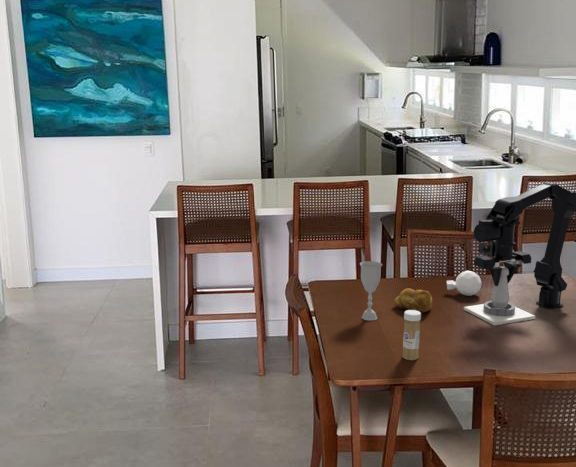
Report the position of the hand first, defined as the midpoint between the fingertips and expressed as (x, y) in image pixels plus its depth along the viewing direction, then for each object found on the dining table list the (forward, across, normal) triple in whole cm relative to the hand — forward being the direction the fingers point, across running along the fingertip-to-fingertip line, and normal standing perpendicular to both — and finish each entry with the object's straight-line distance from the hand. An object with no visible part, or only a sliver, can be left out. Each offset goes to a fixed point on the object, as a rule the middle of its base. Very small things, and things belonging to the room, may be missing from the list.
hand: (501, 285), depth 234 cm
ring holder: (+10, 0, 0) cm, 10 cm away
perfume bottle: (+10, -2, -22) cm, 24 cm away
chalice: (+10, +41, -13) cm, 44 cm away
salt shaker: (+7, 0, 0) cm, 7 cm away
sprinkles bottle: (+10, +46, +20) cm, 51 cm away
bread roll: (+10, +23, -15) cm, 30 cm away
